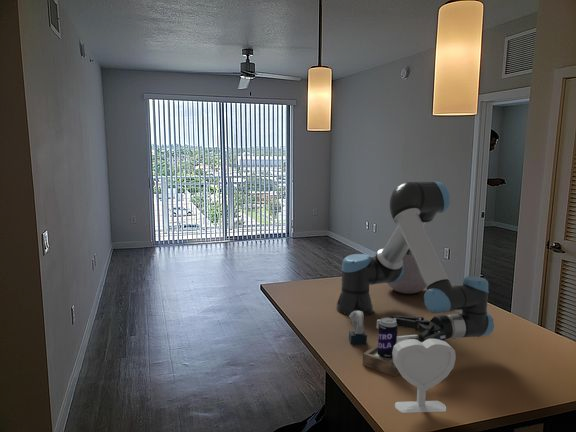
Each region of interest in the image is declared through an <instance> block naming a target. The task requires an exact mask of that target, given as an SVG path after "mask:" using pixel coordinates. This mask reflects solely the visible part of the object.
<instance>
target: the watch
mask: <svg viewBox="0 0 576 432" xmlns="http://www.w3.org/2000/svg"><path fill="white" fill-rule="evenodd" d="M348 317H349V318H350V320H351V323H352V327H353V330H349V331H348V341H349V344H350V345H367V344H368V343H367V339H368V335H367V333H366V332H365V330H364V329H365V328H364V318H365V315H364V313H363V312H362V311H353V312H352V313H351V314H350V315H348Z"/></svg>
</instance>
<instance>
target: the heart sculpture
mask: <svg viewBox="0 0 576 432" xmlns="http://www.w3.org/2000/svg"><path fill="white" fill-rule="evenodd" d="M392 355H393V363H394V364H395V366H396V368H397V369H398V371H399V374H400V376H401V377H402V378H403V379H404V380H406V381H407V382H408V383H409V385H410V384H411V385H412V386H413V387H415V388H416V400H415V401H396V402H395V403H394V407H395V409H396V410H398V412H400V413H402V414H403V413H404V414H409V413H434V412H435V413H441V412H443V413H444V412H447V406H446V405H445V404H444V403H443V402H441V401H439V400H426V398H427V397H426V395H427V391H428V390H430V389H431V388H433V387H434V386H436V385H438V384H440V383H441V382H442V381H443V380H445V379H446V378H447V377H448V376H449V375H450V373H451V372H452V370H453V369H454V367H455V363H456V357H457V356H456V355H457V354H456V350H455V349H454V348H453V347H452V346H451V345H450V344H449V343H448V342H447V341H446V340H445V341H442V340H439V339H427V340H425V341H424V342H420V341H418V340H416V339H408V340H403V341H401V342H398V343H397V344H395V345H394V347H393V352H392Z"/></svg>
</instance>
